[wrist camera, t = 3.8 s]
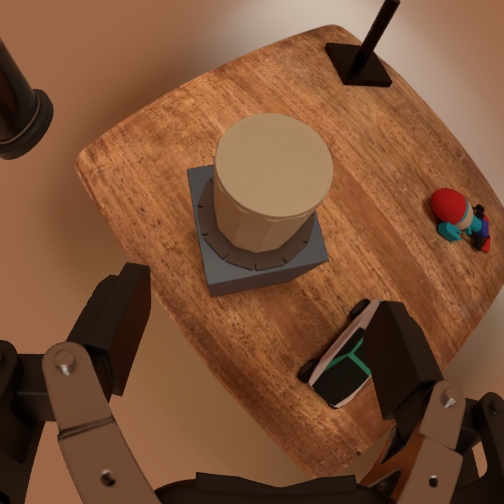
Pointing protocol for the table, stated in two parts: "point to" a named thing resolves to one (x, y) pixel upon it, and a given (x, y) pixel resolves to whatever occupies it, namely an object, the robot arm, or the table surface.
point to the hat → (264, 191)
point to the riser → (240, 279)
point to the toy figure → (460, 217)
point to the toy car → (342, 361)
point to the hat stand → (364, 54)
